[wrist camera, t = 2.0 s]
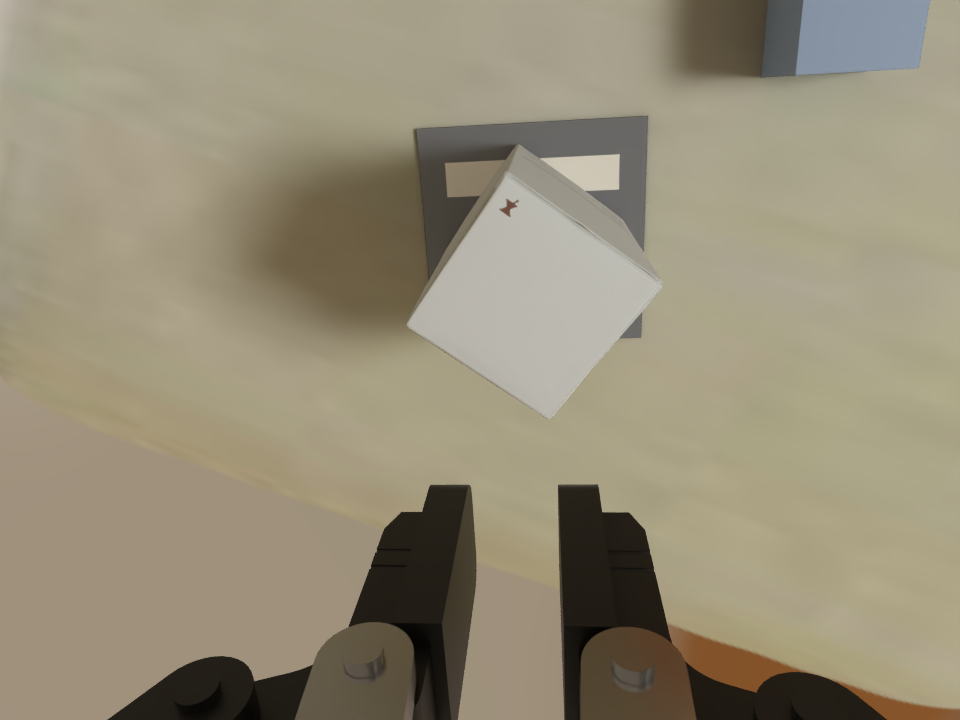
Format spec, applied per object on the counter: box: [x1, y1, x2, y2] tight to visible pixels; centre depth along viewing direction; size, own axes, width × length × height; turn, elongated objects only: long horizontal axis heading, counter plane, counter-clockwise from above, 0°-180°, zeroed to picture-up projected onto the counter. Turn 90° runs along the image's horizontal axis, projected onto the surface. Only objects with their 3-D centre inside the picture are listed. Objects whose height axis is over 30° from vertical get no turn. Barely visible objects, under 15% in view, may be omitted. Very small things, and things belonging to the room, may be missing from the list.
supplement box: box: [406, 144, 663, 420], centre depth 31 cm, size 7×7×13 cm
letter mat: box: [416, 116, 648, 338], centre depth 37 cm, size 12×12×1 cm
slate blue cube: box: [761, 0, 930, 77], centre depth 30 cm, size 5×5×5 cm
